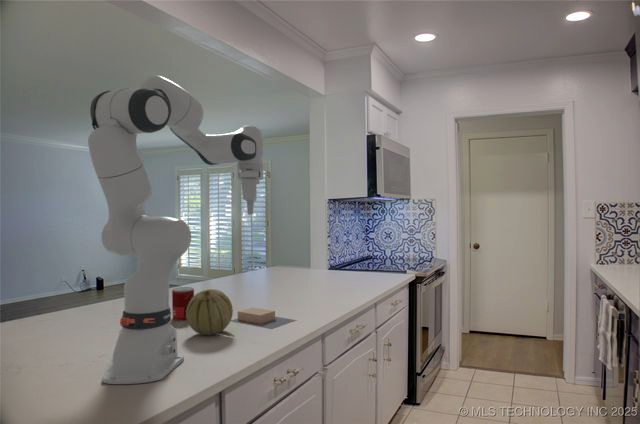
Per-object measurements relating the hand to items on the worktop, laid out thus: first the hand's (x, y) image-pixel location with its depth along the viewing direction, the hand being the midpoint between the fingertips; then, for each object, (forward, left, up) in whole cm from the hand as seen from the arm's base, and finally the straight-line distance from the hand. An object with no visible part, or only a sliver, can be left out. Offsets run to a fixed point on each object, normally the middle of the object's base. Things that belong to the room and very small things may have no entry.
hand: (250, 214), depth 153 cm
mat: (+7, -4, -39) cm, 40 cm away
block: (+5, -6, -37) cm, 38 cm away
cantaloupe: (-7, +13, -39) cm, 42 cm away
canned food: (+17, +26, -39) cm, 50 cm away
